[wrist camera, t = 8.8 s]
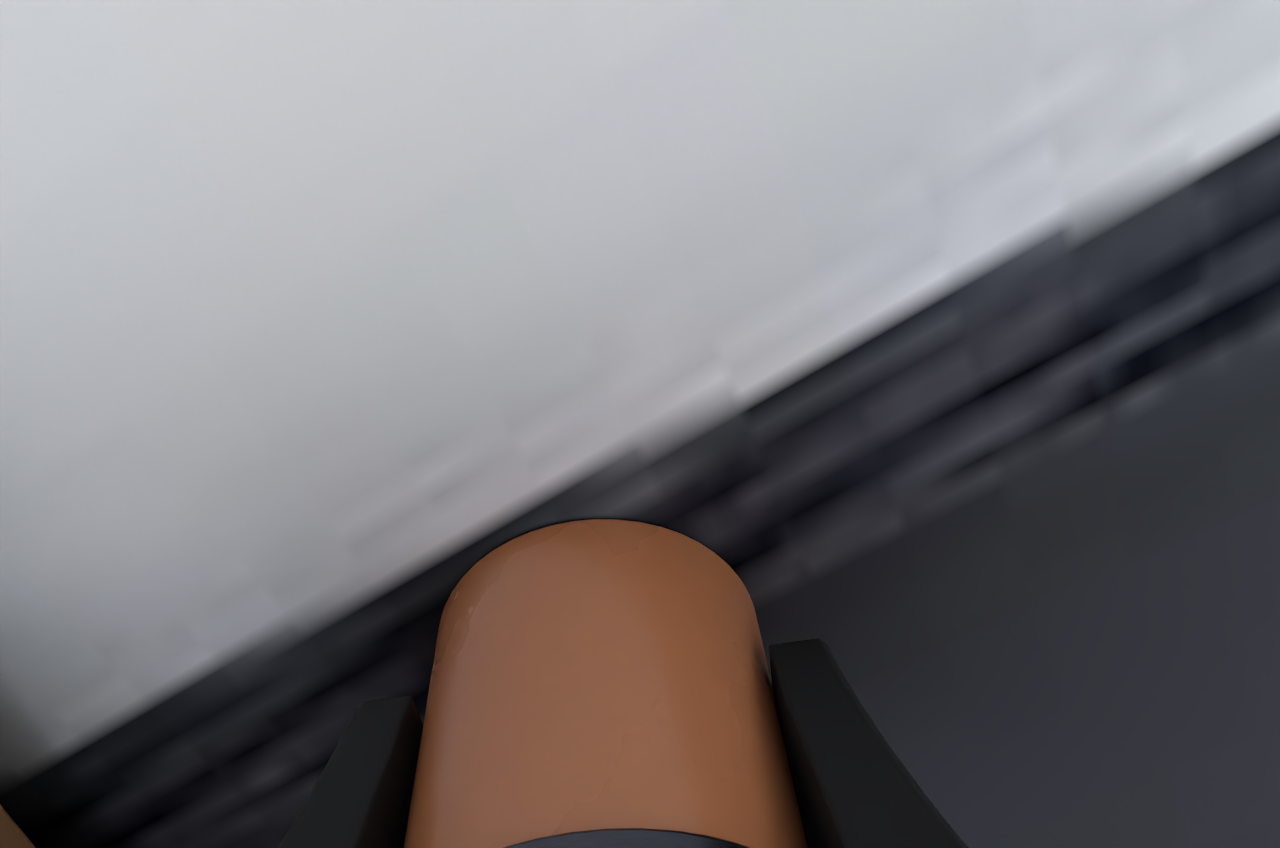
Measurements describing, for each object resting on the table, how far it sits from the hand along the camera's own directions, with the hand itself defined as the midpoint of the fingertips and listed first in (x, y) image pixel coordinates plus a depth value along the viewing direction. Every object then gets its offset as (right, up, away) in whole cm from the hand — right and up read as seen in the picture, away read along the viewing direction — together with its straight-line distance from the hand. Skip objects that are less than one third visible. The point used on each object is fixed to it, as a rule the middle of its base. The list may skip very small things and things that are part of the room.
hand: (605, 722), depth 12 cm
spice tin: (0, +1, +1) cm, 1 cm away
